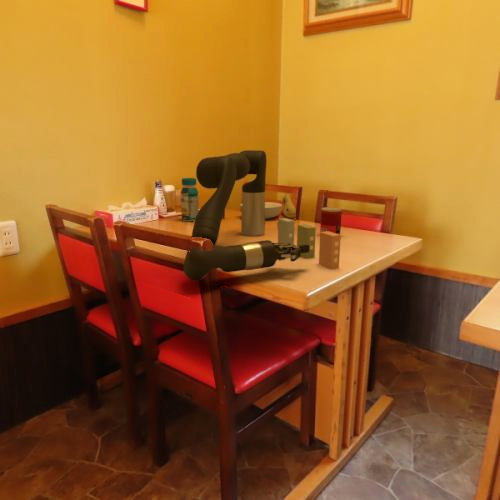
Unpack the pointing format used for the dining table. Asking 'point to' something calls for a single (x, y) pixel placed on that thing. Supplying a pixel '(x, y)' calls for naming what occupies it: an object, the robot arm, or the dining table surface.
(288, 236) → the digit tile 1
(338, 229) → the canned food
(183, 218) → the beverage bottle
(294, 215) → the yellow pear
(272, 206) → the serving bowl
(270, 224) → the dining table surface
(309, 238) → the digit tile 2
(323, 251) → the digit tile 3
